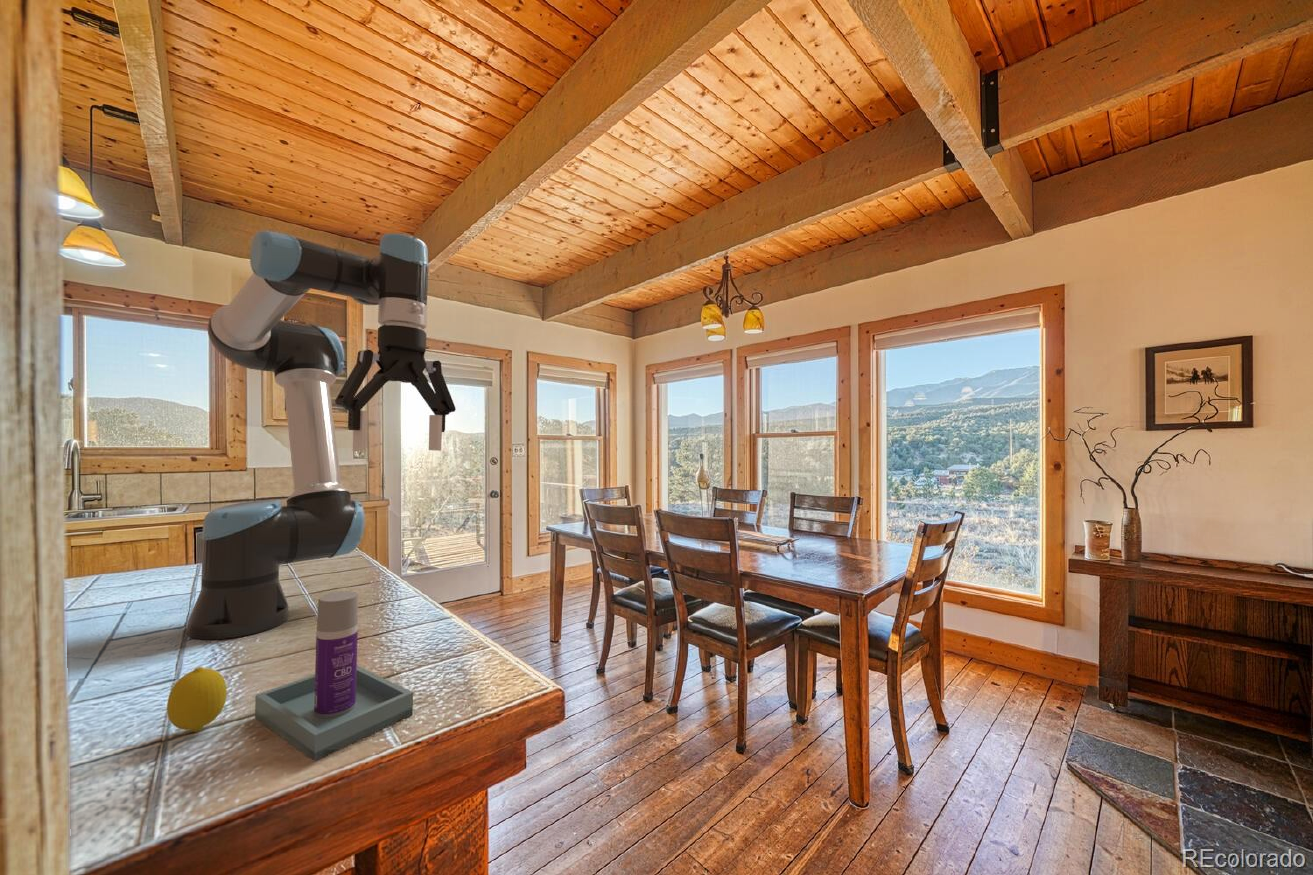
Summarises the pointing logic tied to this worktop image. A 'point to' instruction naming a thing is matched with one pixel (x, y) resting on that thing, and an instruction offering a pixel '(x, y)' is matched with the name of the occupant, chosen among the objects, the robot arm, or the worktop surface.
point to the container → (336, 654)
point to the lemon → (196, 699)
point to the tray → (320, 737)
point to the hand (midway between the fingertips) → (399, 451)
